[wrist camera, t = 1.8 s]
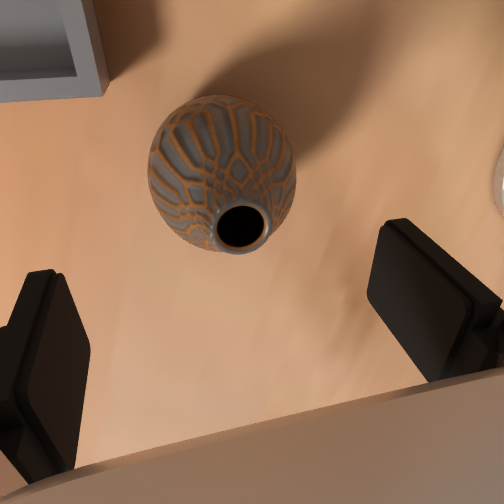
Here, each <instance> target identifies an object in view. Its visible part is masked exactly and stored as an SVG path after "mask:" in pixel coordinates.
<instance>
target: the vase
mask: <svg viewBox="0 0 504 504" xmlns="http://www.w3.org/2000/svg"><path fill="white" fill-rule="evenodd" d="M148 183H149V189H150V192H151V196H152V199H153V201H154V204H155V206H156V208H157V210H158V211H159V213H160V215H161V216H162V218H163V219H164V221H165V222H166V223H167V224H168V226H169V227H170V228H171V229H172V230H173V231H174V232H175V233H176V234H177V235H179V236H180V237H181V238H183V239H184V240H185V241H187V242H189V243H190V244H192V245H194V246H197V247H199V248H202V249H206V250H209V251H215V252H226V253H229V254H246V253H249V252H252V251H254V250H256V249H258V248H259V247H260V246H262V245H263V244H264V243H265V242H266V240H267V239H268V237H269V236H270V235H272V234H273V233H274V232H275V231H276V230H277V229H278V227H279V226H280V225H281V224H282V222H283V221H284V219H285V218H286V216H287V214H288V212H289V210H290V208H291V205H292V202H293V199H294V195H295V189H296V166H295V160H294V155H293V152H292V149H291V147H290V144H289V142H288V139H287V137H286V136H285V134H284V132H283V131H282V130H281V128H280V127H279V125H278V124H277V123H276V122H275V121H274V120H273V119H272V118H271V117H270V116H269V115H268V114H267V113H266V112H265V111H263V110H262V109H261V108H259V107H258V106H256V105H254V104H253V103H251V102H249V101H247V100H244V99H241V98H238V97H234V96H229V95H209V96H203V97H199V98H196V99H193V100H191V101H189V102H187V103H185V104H183V105H182V106H180V107H179V108H177V109H176V110H175V111H173V112H172V113H171V114H170V115H169V116H168V117H167V118H166V119H165V120H164V122H163V123H162V124H161V126H160V127H159V129H158V131H157V133H156V135H155V137H154V139H153V142H152V145H151V148H150V153H149V159H148Z"/></svg>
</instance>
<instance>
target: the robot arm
mask: <svg viewBox="0 0 504 504" xmlns="http://www.w3.org/2000/svg"><path fill="white" fill-rule="evenodd" d="M493 192H494V197H495V202H496V205H497V207H498V209H499V211H500V213H501V214H502V215H503V216H504V147H503V149H502V152H501V154H500V157H499V159H498V163H497V167H496V171H495V175H494V190H493ZM367 297H368V300H369V302H370V304H371V305H372V306H373V308H374V309H375V310H376V312H377V313H378V315H379V316H380V317H381V319H382V320H383V321H384V323H385V324H386V325H387V327H388V328H389V330H390V331H391V332H392V334H393V335H394V336H395V338H396V339H397V340H398V342H399V343H400V345H401V346H402V347H403V349H404V350H405V351H406V353H407V354H408V356H409V357H410V358H411V360H412V361H413V362H414V364H415V365H416V366H417V368H418V369H419V371H420V372H421V373H422V375H423V376H424V377H425V379H426V380H427V381H428V382H429V383H426V384H421V385H417V386H413V387H408V388H404V389H400V390H395V391H391V392H387V393H382V394H378V395H374V396H369V397H365V398H361V399H356V400H352V401H348V402H344V403H339V404H335V405H331V406H327V407H322V408H318V409H314V410H310V411H306V412H301V413H297V414H293V415H289V416H284V417H280V418H276V419H272V420H268V421H263V422H259V423H255V424H251V425H247V426H243V427H238V428H234V429H230V430H226V431H222V432H218V433H214V434H210V435H205V436H201V437H197V438H193V439H189V440H185V441H181V442H177V443H172V444H168V445H164V446H160V447H156V448H152V449H148V450H144V451H140V452H137V453H133V454H129V455H125V456H121V457H117V458H113V459H110V460H106V461H102V462H98V463H94V464H90V465H87V466H83V467H80V468H77V469H74V467H75V461H76V454H77V447H78V440H79V432H80V425H81V418H82V411H83V404H84V397H85V389H86V382H87V375H88V368H89V361H90V343H89V340H88V337H87V335H86V332H85V329H84V327H83V324H82V321H81V319H80V316H79V314H78V311H77V308H76V306H75V303H74V301H73V298H72V295H71V293H70V290H69V287H68V285H67V282H66V280H65V277H64V275H63V274H62V273H58V274H56V272H55V271H54V270H53V269H48V270H41V271H35V272H29V273H28V274H27V276H26V279H25V281H24V284H23V286H22V289H21V291H20V294H19V296H18V299H17V301H16V304H15V306H14V309H13V311H12V314H11V316H10V319H9V321H8V324H7V326H2V327H1V328H0V504H504V310H503V309H502V308H500V305H501V303H502V301H503V300H502V299H500V298H499V297H498V296H497V295H496V294H495V293H493V292H492V291H491V290H490V289H489V288H488V287H486V286H485V285H484V284H483V283H482V282H481V281H479V280H478V279H477V278H476V277H475V276H474V275H472V274H471V273H470V272H469V271H468V270H467V269H465V268H464V267H463V266H462V265H461V264H460V263H458V262H457V261H456V260H455V259H454V258H453V257H451V256H450V255H449V254H448V253H447V252H446V251H444V250H443V249H442V248H441V247H440V246H439V245H437V244H436V243H435V242H434V241H433V240H432V239H431V238H429V237H428V236H427V235H426V234H425V233H424V232H422V231H421V230H420V229H419V228H418V227H417V226H415V225H414V224H413V223H412V222H411V221H410V220H408V219H407V218H401V219H394V220H388V221H386V222H385V224H384V226H381V228H380V230H379V235H378V240H377V244H376V249H375V254H374V259H373V264H372V269H371V273H370V278H369V283H368V288H367Z"/></svg>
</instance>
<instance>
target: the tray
mask: <svg viewBox="0 0 504 504" xmlns="http://www.w3.org/2000/svg"><path fill="white" fill-rule="evenodd" d="M109 84H110V79H109V74H108V70H107V65H106V60H105V56H104V51H103V46H102V42H101V37H100V32H99V28H98V23H97V18H96V13H95V9H94V4H93V0H0V103H3V102H20V101H36V100H52V99H68V98H84V97H101V96H103V95H104V94H105V92H106V90H107V88H108V86H109Z"/></svg>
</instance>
